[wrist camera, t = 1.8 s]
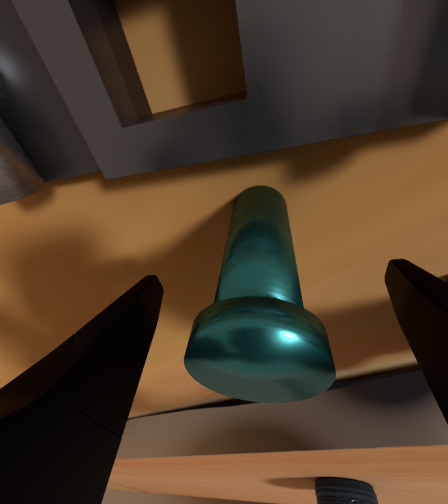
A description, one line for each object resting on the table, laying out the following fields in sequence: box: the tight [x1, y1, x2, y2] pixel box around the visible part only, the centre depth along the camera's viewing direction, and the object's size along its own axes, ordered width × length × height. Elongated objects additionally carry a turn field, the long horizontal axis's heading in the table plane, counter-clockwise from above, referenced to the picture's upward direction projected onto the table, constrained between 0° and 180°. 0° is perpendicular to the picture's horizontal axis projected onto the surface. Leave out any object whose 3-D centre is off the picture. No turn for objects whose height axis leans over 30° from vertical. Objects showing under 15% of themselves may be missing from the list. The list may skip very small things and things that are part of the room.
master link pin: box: [184, 186, 336, 403], centre depth 10 cm, size 4×4×9 cm
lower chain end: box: [0, 0, 247, 205], centre depth 8 cm, size 8×16×4 cm, turn 102°
